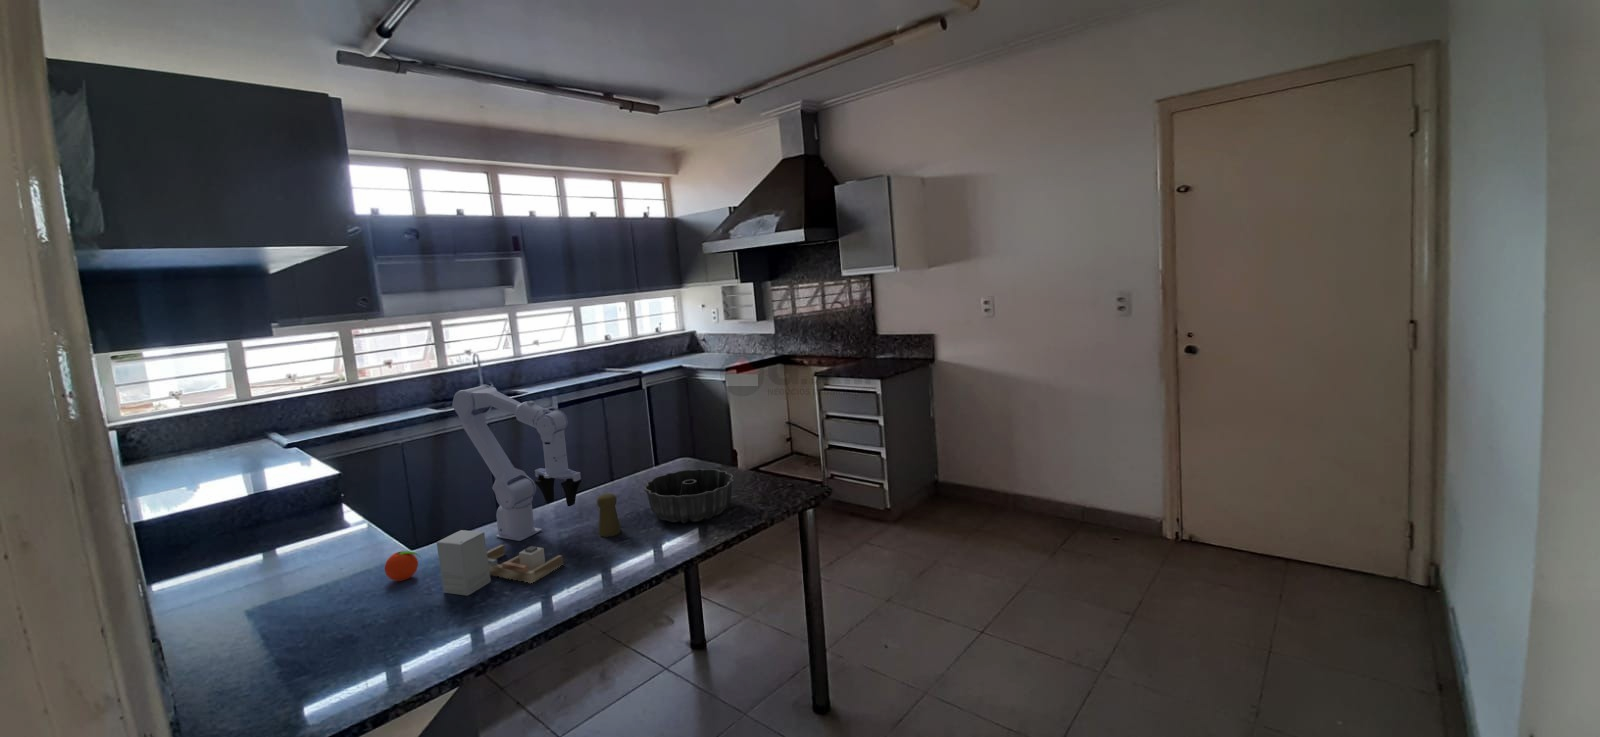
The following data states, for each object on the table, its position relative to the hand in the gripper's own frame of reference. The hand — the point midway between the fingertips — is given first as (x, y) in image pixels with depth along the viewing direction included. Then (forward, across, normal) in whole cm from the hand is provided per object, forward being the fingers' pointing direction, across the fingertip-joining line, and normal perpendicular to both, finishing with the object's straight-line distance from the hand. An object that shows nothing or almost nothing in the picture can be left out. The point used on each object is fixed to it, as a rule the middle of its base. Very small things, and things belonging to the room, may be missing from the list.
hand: (560, 503), depth 177 cm
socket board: (+10, +2, -18) cm, 21 cm away
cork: (+10, +10, +7) cm, 16 cm away
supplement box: (+10, -1, -30) cm, 32 cm away
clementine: (+10, -20, -32) cm, 39 cm away
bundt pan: (+10, +24, +27) cm, 38 cm away
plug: (+10, +7, -18) cm, 21 cm away
